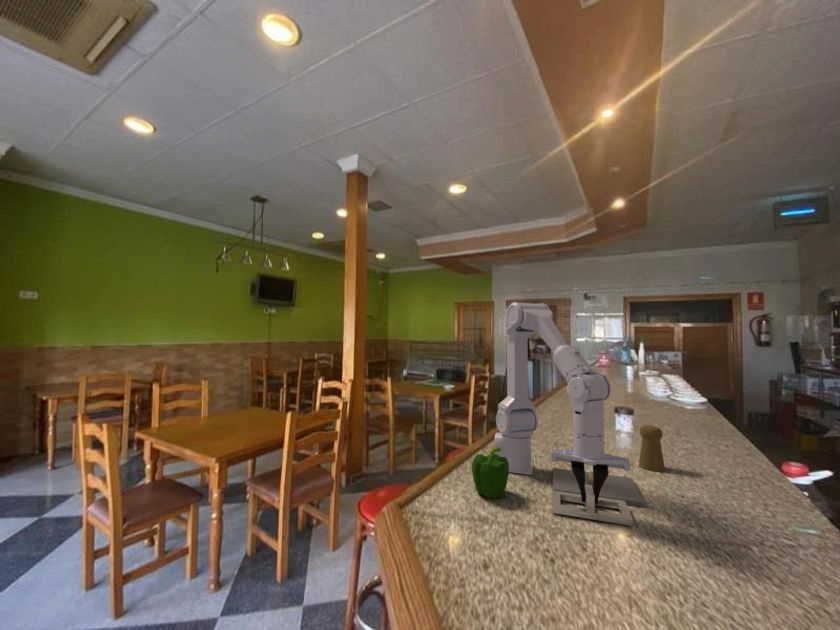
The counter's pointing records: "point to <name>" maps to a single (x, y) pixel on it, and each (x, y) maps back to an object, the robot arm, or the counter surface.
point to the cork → (651, 449)
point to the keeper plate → (611, 488)
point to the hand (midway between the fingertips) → (589, 500)
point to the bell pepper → (490, 474)
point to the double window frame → (592, 507)
